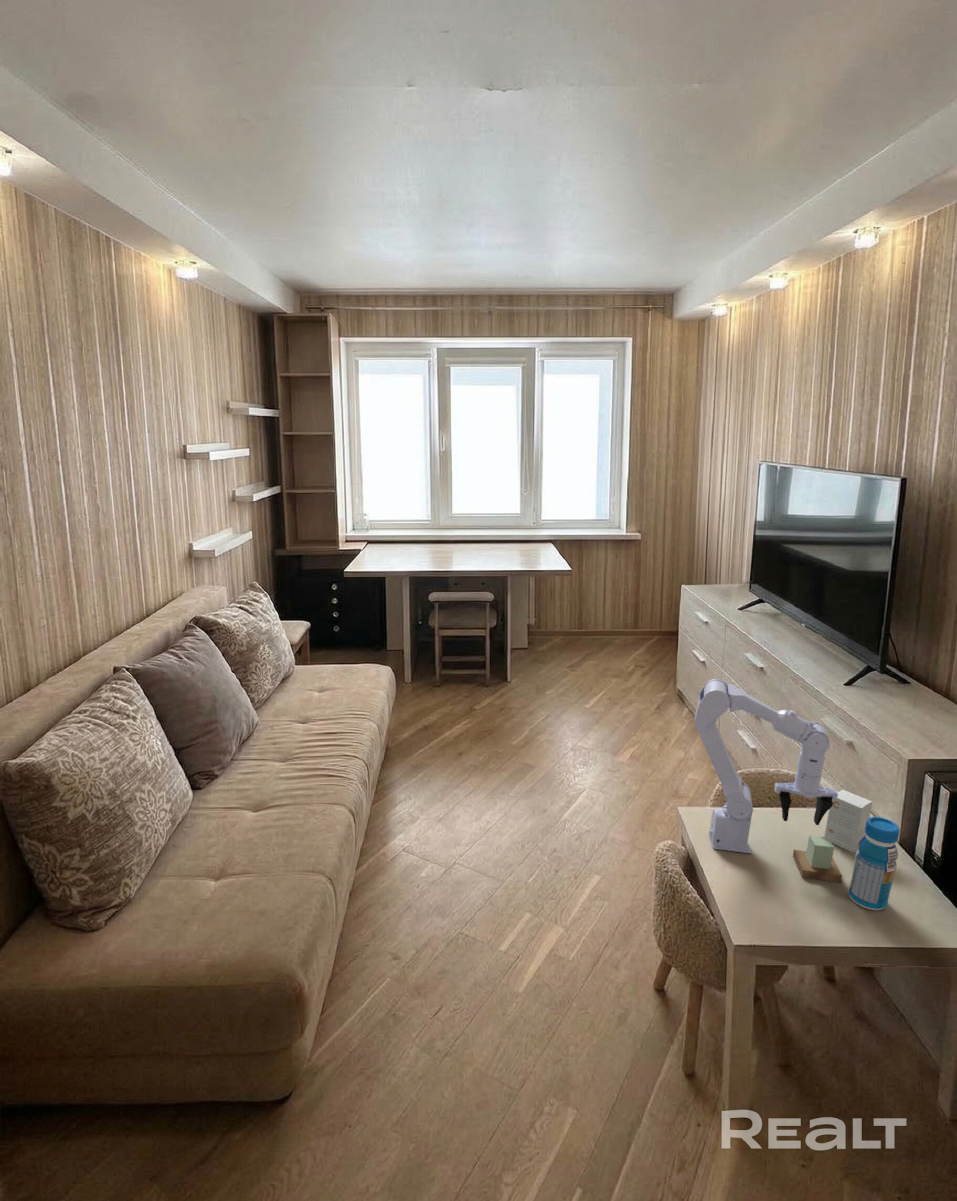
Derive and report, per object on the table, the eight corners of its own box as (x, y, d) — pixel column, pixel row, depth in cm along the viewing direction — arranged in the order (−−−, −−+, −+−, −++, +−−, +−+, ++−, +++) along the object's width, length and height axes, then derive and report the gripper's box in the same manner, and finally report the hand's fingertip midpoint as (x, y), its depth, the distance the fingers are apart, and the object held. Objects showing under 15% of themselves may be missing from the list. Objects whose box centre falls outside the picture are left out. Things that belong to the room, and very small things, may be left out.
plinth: (801, 877, 185) (803, 870, 184) (792, 856, 193) (793, 849, 193) (840, 882, 184) (841, 875, 183) (829, 861, 192) (830, 854, 192)
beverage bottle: (852, 908, 174) (868, 830, 169) (843, 886, 182) (858, 811, 177) (892, 915, 172) (909, 836, 167) (881, 893, 180) (898, 817, 175)
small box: (864, 845, 200) (873, 801, 197) (853, 853, 196) (862, 808, 193) (834, 832, 206) (842, 788, 203) (822, 839, 202) (831, 795, 199)
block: (810, 866, 186) (815, 845, 184) (805, 856, 190) (809, 835, 189) (830, 869, 185) (834, 847, 184) (824, 858, 190) (828, 837, 188)
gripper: (782, 775, 185) (774, 825, 189) (844, 783, 183) (835, 833, 187) (775, 763, 192) (767, 811, 195) (836, 769, 190) (827, 818, 193)
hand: (800, 821), depth 191 cm, fingers open, 7 cm apart
